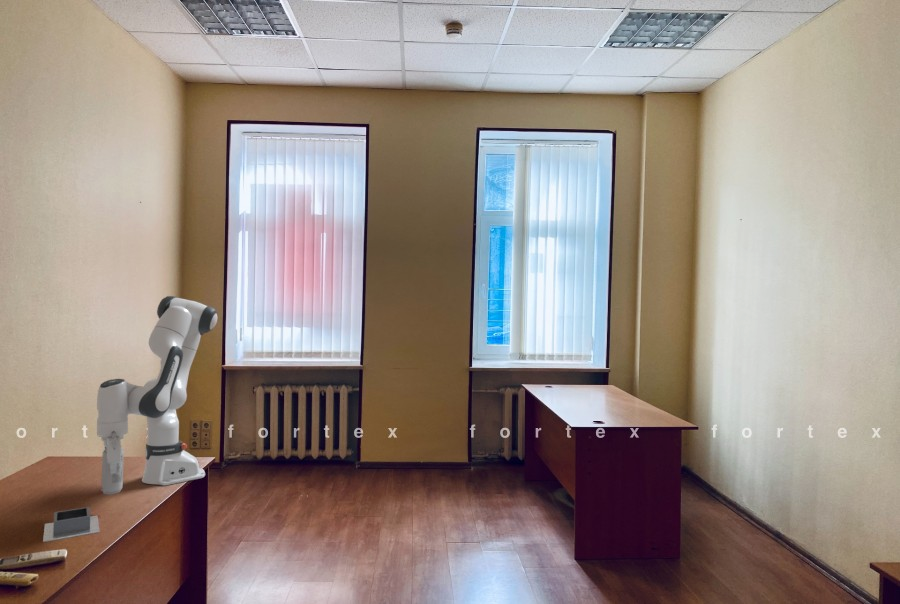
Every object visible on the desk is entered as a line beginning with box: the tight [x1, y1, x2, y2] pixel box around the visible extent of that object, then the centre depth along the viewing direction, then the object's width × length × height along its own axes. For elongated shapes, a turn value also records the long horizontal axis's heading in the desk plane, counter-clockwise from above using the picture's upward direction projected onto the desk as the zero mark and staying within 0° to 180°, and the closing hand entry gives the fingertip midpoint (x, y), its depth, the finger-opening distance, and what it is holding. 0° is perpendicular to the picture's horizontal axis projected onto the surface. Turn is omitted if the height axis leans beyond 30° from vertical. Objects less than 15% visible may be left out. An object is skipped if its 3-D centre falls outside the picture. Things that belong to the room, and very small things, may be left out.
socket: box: [42, 506, 100, 543], centre depth 175 cm, size 14×14×5 cm
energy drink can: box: [100, 445, 125, 495], centre depth 189 cm, size 6×6×15 cm
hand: (112, 470), depth 189 cm, fingers closed on energy drink can, 6 cm apart
